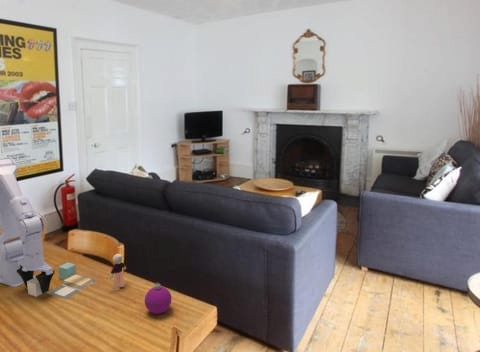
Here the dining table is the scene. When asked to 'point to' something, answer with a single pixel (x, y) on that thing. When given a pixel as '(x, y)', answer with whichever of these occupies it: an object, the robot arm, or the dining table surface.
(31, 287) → the cream block
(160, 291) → the christmas ornament
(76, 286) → the beech brick
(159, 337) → the dining table surface
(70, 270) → the teal block
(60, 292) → the slate mat
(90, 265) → the dining table surface
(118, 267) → the grandmother figurine
